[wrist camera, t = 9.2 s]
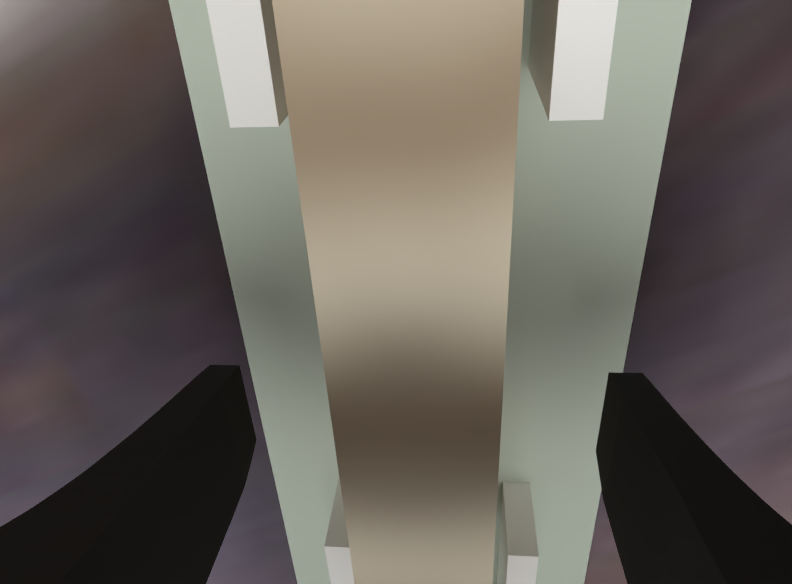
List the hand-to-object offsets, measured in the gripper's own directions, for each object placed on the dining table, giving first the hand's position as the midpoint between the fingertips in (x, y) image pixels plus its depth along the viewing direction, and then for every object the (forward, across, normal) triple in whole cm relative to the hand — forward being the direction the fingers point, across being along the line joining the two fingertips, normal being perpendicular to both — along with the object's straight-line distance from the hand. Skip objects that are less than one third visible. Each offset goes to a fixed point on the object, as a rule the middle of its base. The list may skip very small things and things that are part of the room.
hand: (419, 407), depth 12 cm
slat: (+4, 0, 0) cm, 4 cm away
